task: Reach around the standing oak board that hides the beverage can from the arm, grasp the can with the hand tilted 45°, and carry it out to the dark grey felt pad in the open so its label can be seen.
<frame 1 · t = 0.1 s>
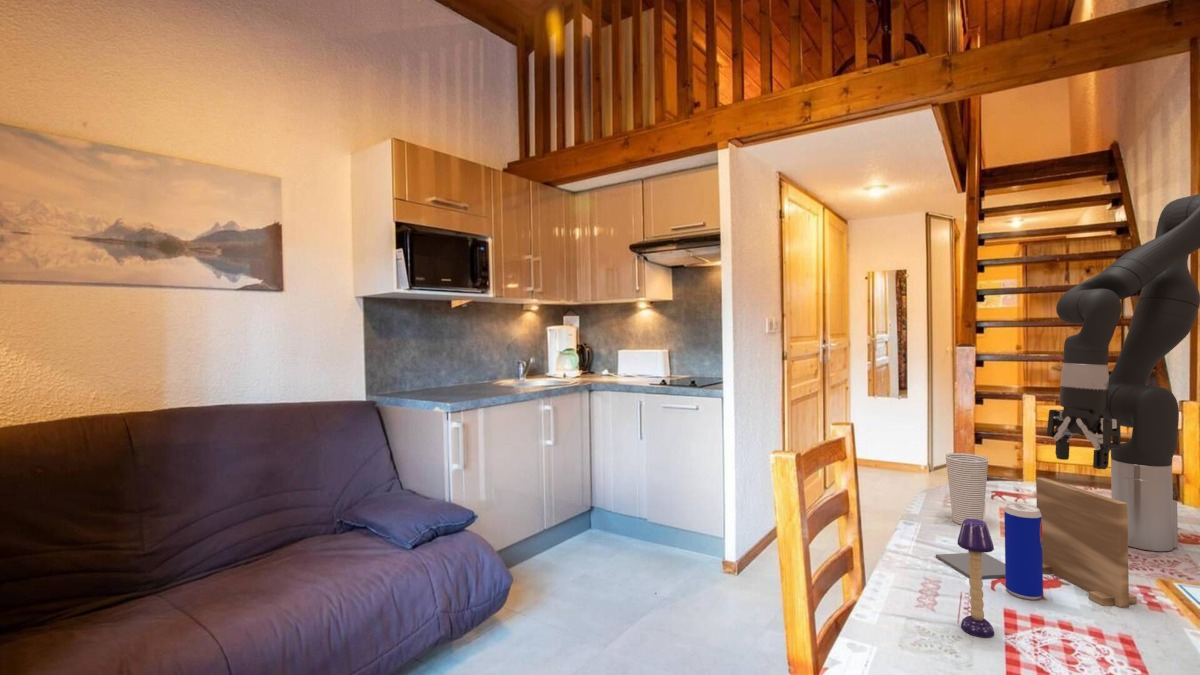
hand: (1080, 463, 115), 17 cm above the table, tool pointing down, fingers open, 8 cm apart
cup: (967, 523, 131), on the table
felt pad: (977, 566, 107), on the table
oak board: (1079, 584, 99), on the table
toy lamp: (977, 630, 85), on the table
beverage can: (1024, 594, 96), on the table
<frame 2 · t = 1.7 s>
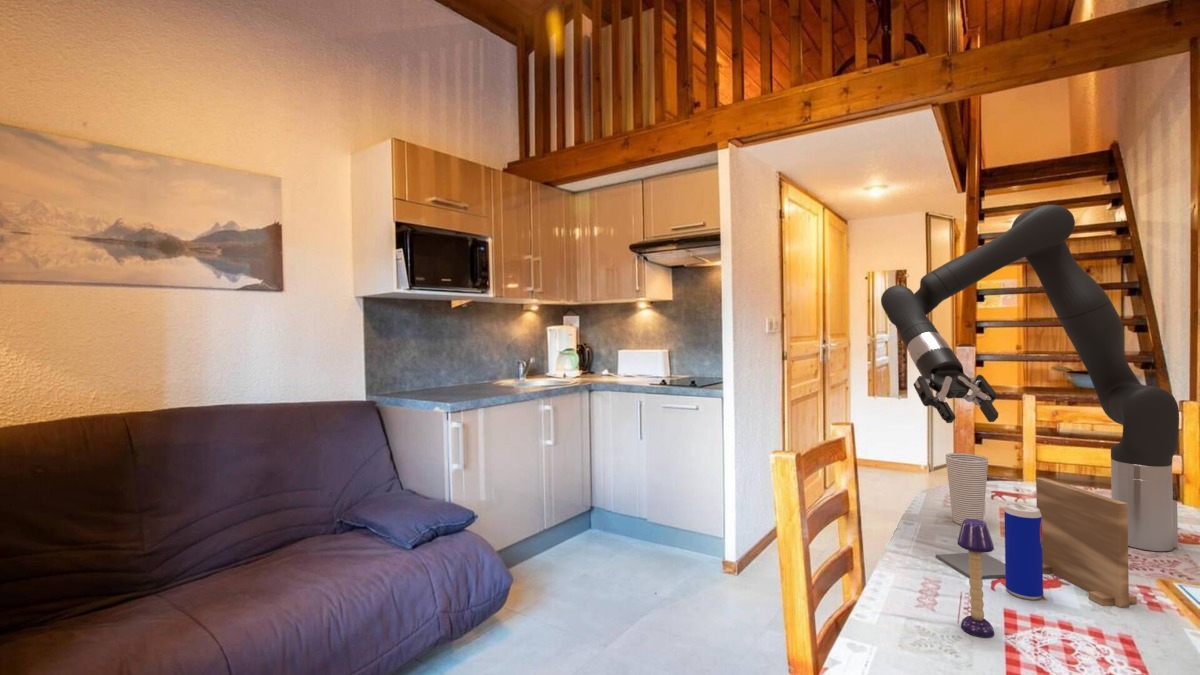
hand: (973, 420, 107), 28 cm above the table, tool tilted 45°, fingers open, 8 cm apart
nothing on the table moved.
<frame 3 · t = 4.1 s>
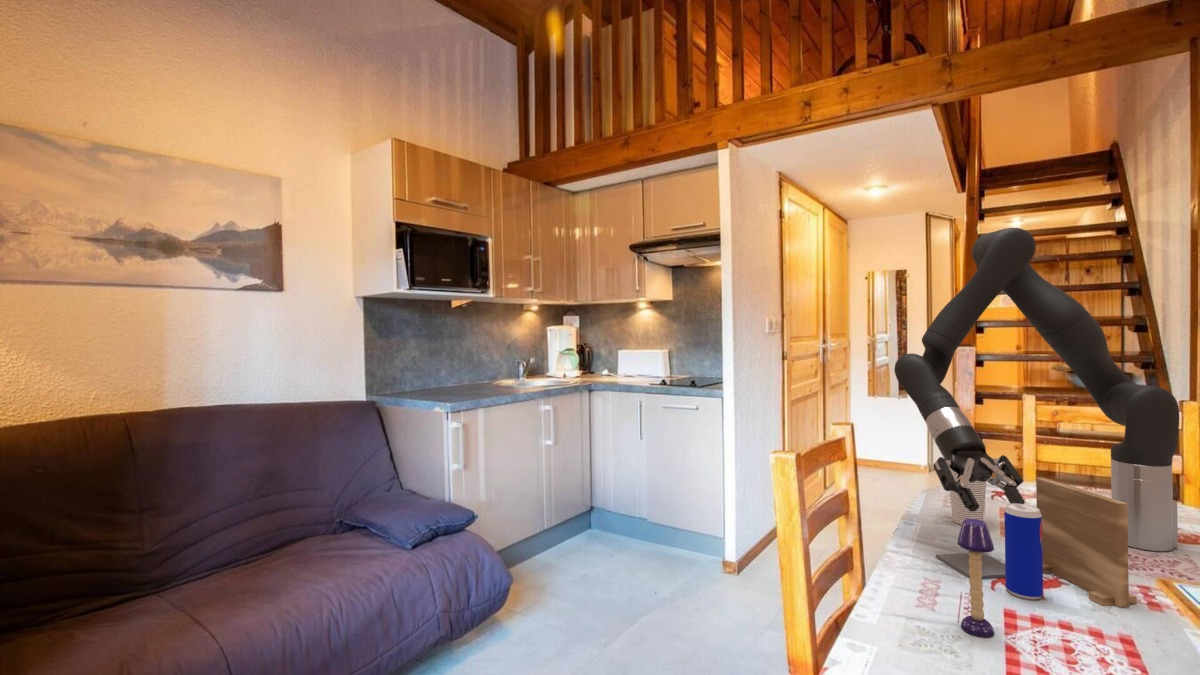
hand: (997, 508, 102), 13 cm above the table, tool tilted 45°, fingers open, 8 cm apart
nothing on the table moved.
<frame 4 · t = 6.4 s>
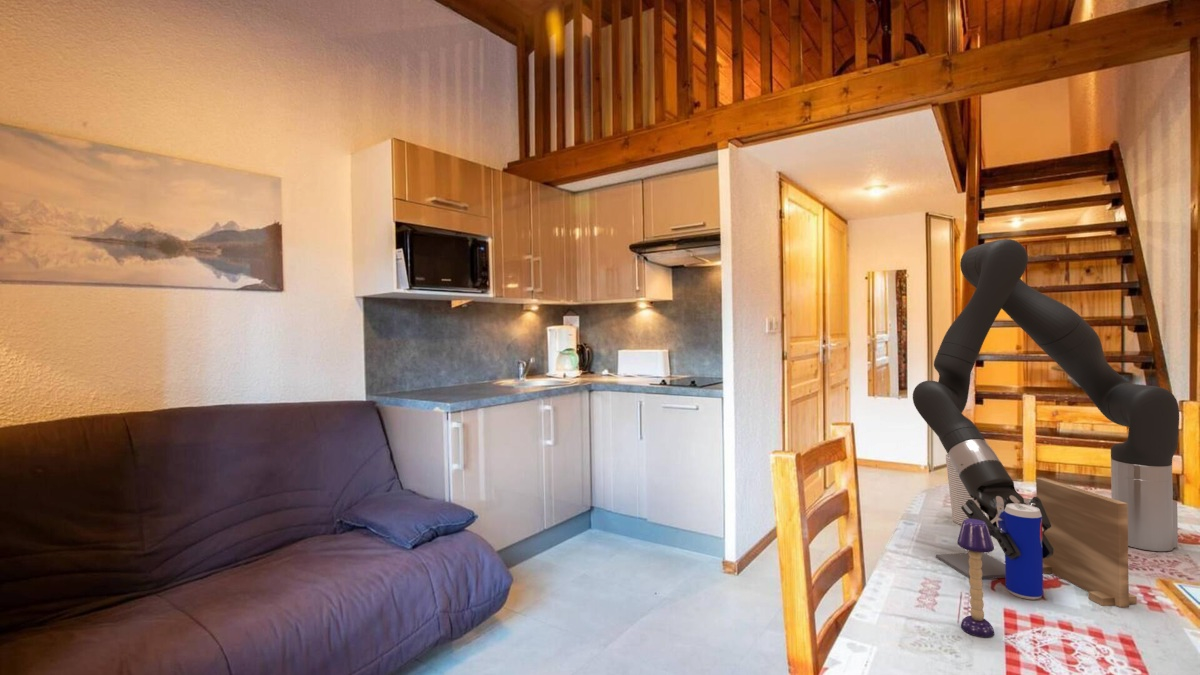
hand: (1032, 556, 94), 7 cm above the table, tool tilted 45°, fingers closed on beverage can, 5 cm apart
beverage can: (1024, 594, 96), on the table, touching gripper
everything else where it was.
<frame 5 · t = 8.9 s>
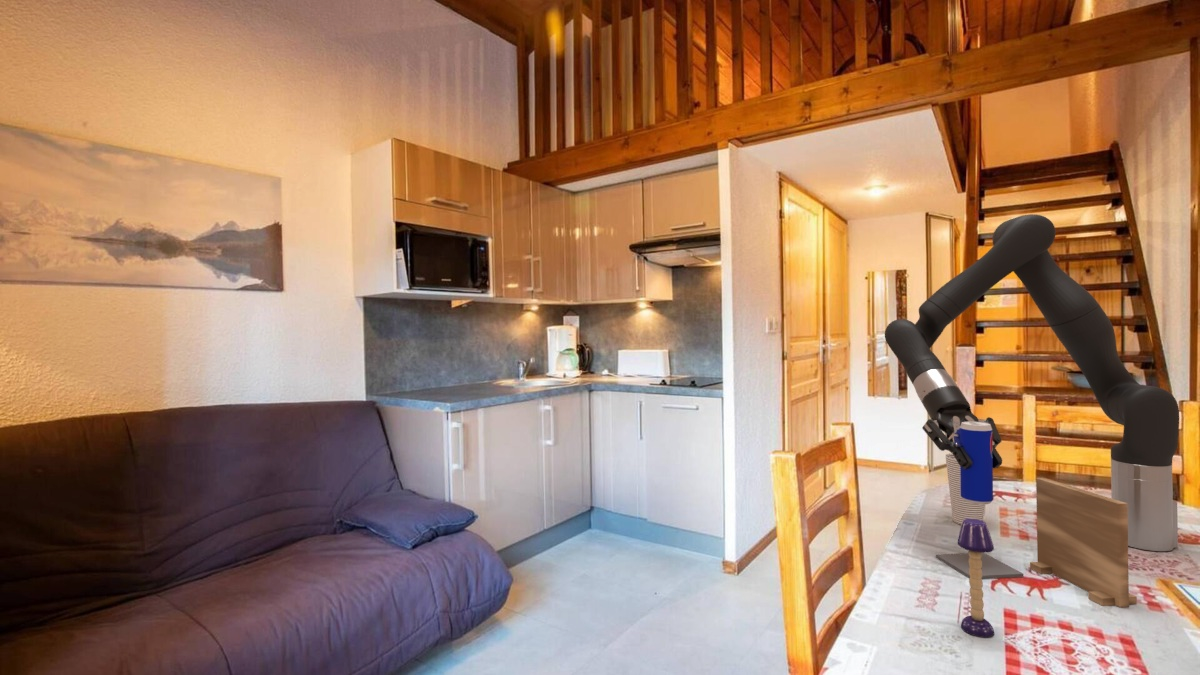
hand: (983, 466, 105), 20 cm above the table, tool tilted 45°, fingers closed on beverage can, 5 cm apart
beverage can: (976, 501, 107), point 13 cm above the table, touching gripper
everything else where it was.
when the fingers open (9 cm above the table, at t = 11.4 s): beverage can drops 1 cm, resting on felt pad.
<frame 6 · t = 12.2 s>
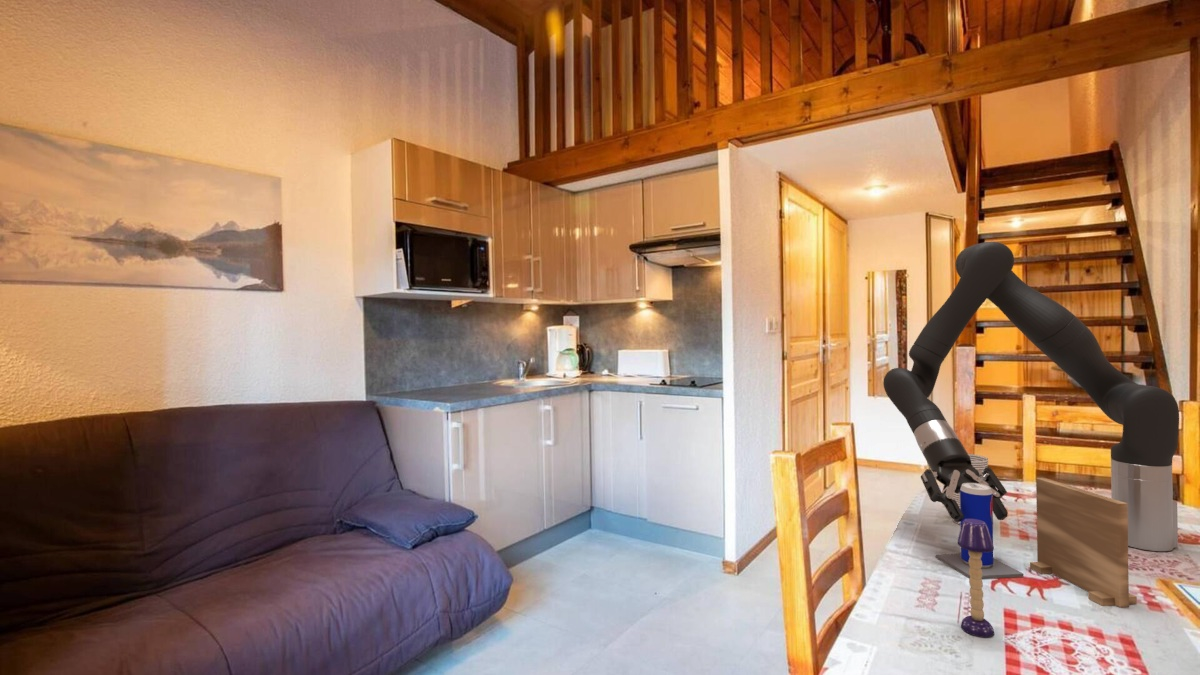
hand: (981, 519, 106), 10 cm above the table, tool tilted 45°, fingers open, 8 cm apart
beverage can: (977, 564, 107), resting on felt pad
everything else where it was.
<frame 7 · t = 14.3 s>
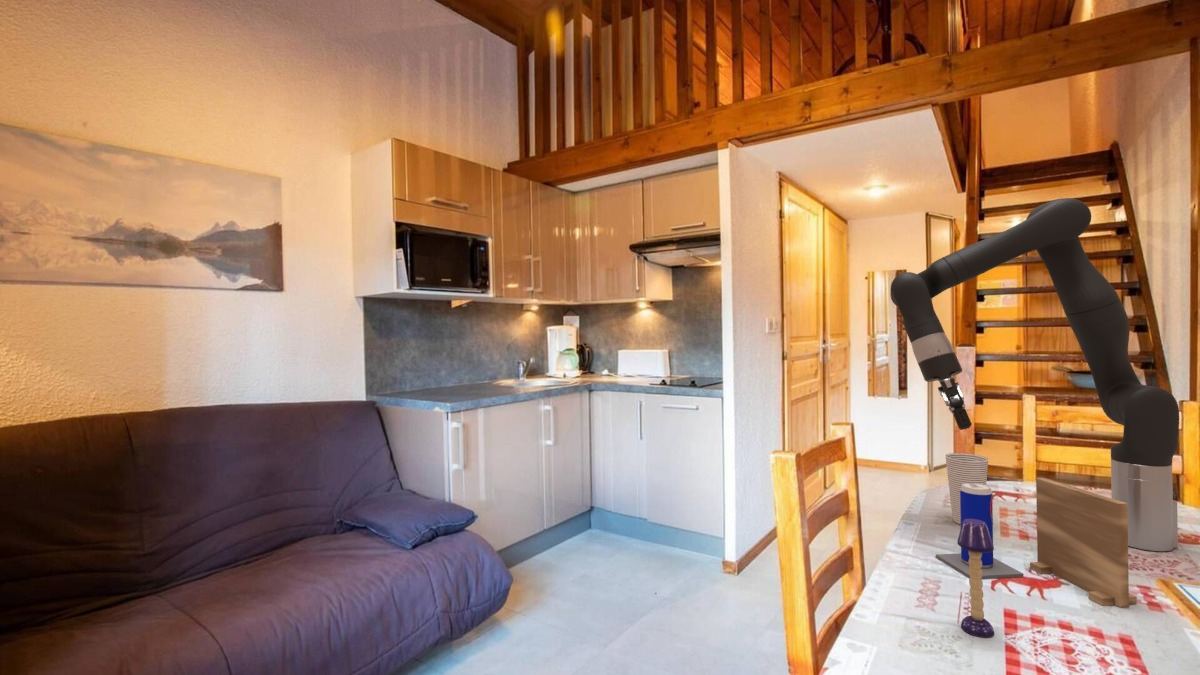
hand: (965, 428, 119), 25 cm above the table, tool tilted 20°, fingers open, 8 cm apart
nothing on the table moved.
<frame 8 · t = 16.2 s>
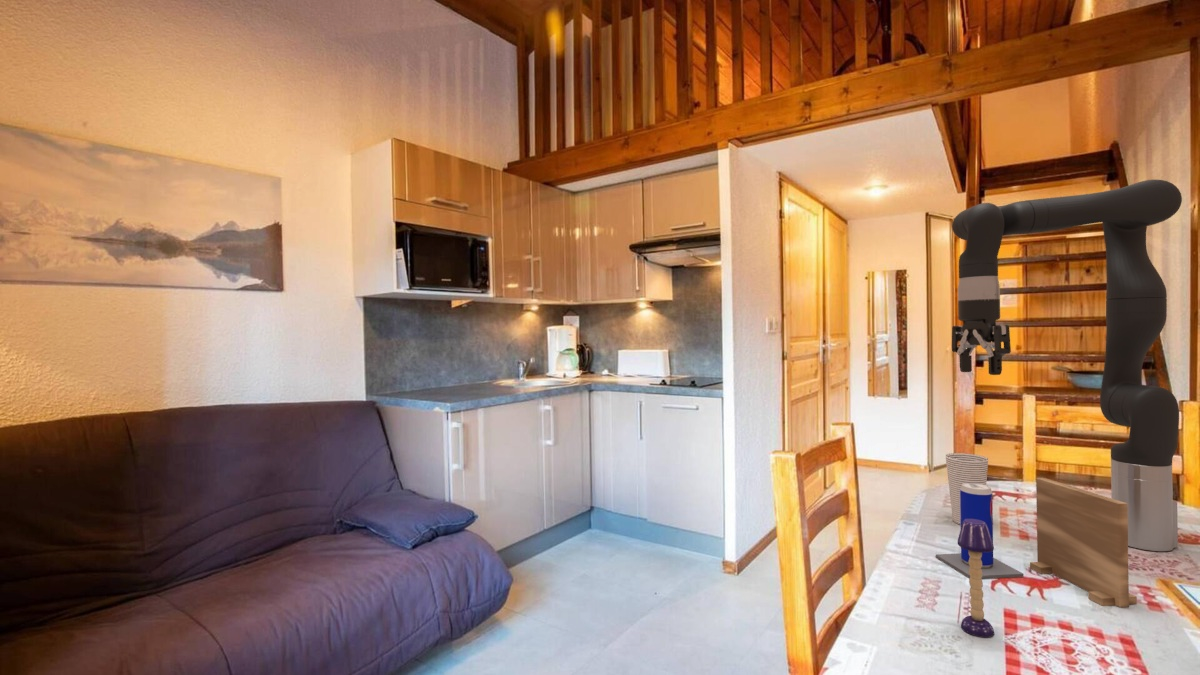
hand: (979, 373, 120), 36 cm above the table, tool pointing down, fingers open, 8 cm apart
nothing on the table moved.
at the end: beverage can inside the target area on the felt pad (0.2 cm from its centre), point 0.4 cm above the felt pad's base; beverage can tilted 0°; the gripper is holding nothing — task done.
